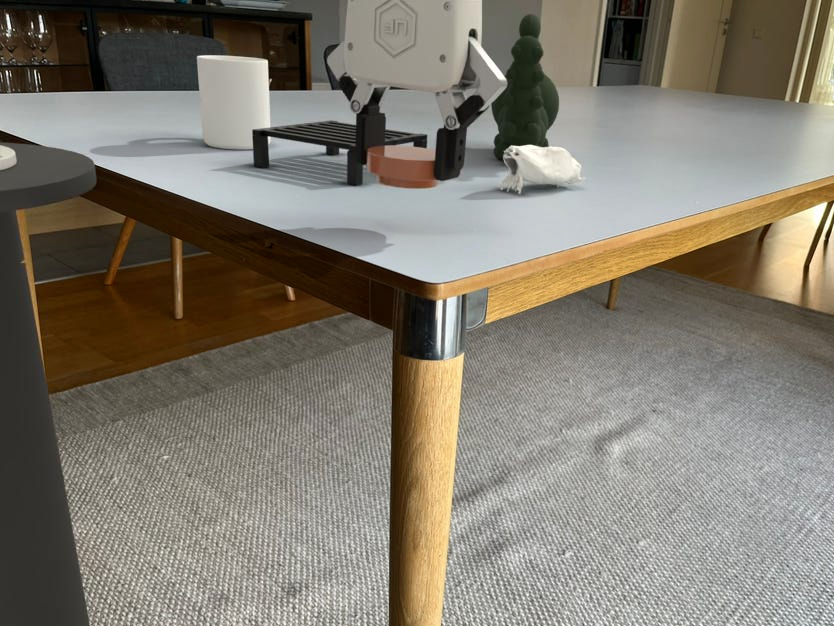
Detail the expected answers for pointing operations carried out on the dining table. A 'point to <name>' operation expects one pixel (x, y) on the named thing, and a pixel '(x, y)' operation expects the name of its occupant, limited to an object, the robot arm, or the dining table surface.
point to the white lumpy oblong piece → (540, 166)
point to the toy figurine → (525, 95)
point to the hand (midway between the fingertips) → (407, 168)
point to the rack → (327, 142)
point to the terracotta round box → (402, 166)
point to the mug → (233, 99)
